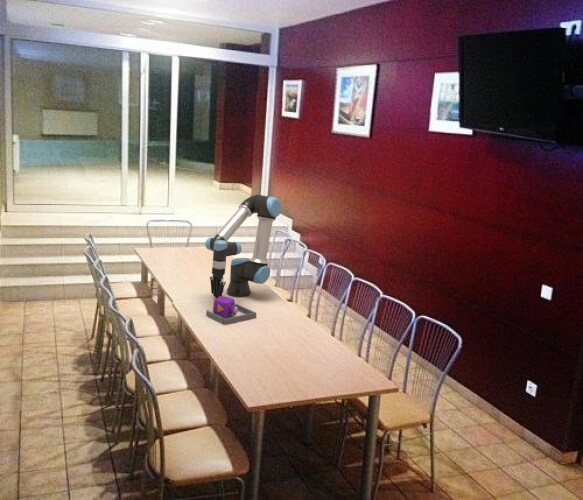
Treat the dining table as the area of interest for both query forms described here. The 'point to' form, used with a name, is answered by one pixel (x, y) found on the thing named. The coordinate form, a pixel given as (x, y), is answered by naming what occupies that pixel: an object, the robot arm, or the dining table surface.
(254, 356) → the dining table surface
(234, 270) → the robot arm
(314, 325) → the dining table surface
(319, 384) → the dining table surface
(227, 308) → the toy camera
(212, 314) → the gray bracket frame
